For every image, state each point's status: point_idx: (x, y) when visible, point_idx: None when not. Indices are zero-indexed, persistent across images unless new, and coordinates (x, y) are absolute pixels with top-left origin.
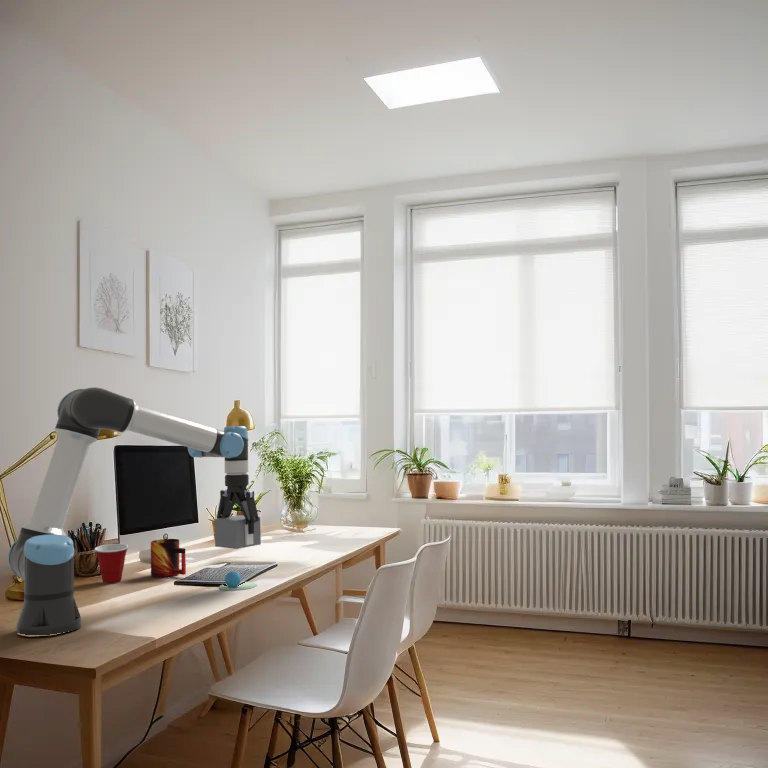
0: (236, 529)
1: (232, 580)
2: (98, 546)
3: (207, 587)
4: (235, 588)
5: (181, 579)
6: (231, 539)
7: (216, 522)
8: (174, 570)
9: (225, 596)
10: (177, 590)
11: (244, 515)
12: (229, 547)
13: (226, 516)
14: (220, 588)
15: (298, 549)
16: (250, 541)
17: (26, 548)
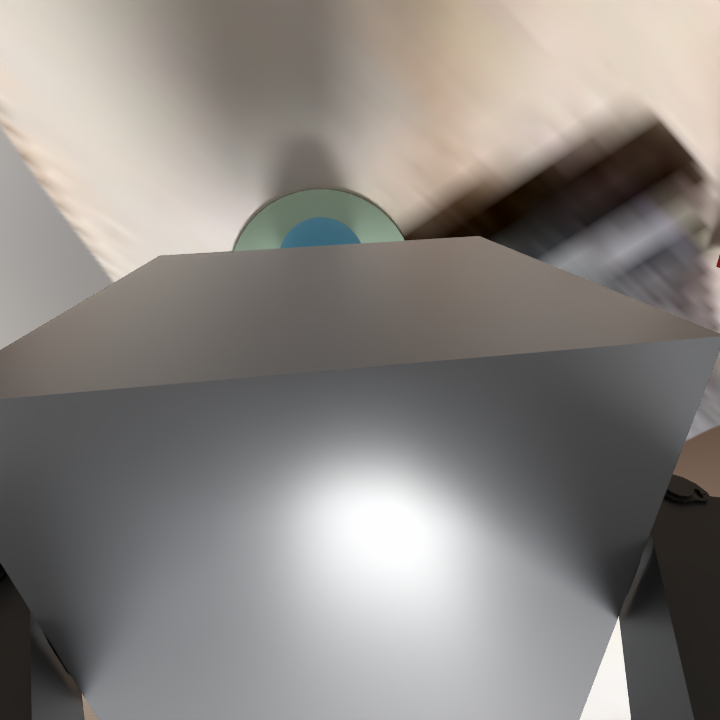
0: (48, 331)
1: (287, 234)
2: None
3: (438, 177)
4: (277, 237)
5: (697, 224)
6: (215, 272)
7: (611, 312)
8: None
9: (153, 73)
10: (532, 7)
11: (5, 701)
12: (266, 251)
13: (639, 584)
14: (347, 193)
15: (607, 705)
16: None
17: None
